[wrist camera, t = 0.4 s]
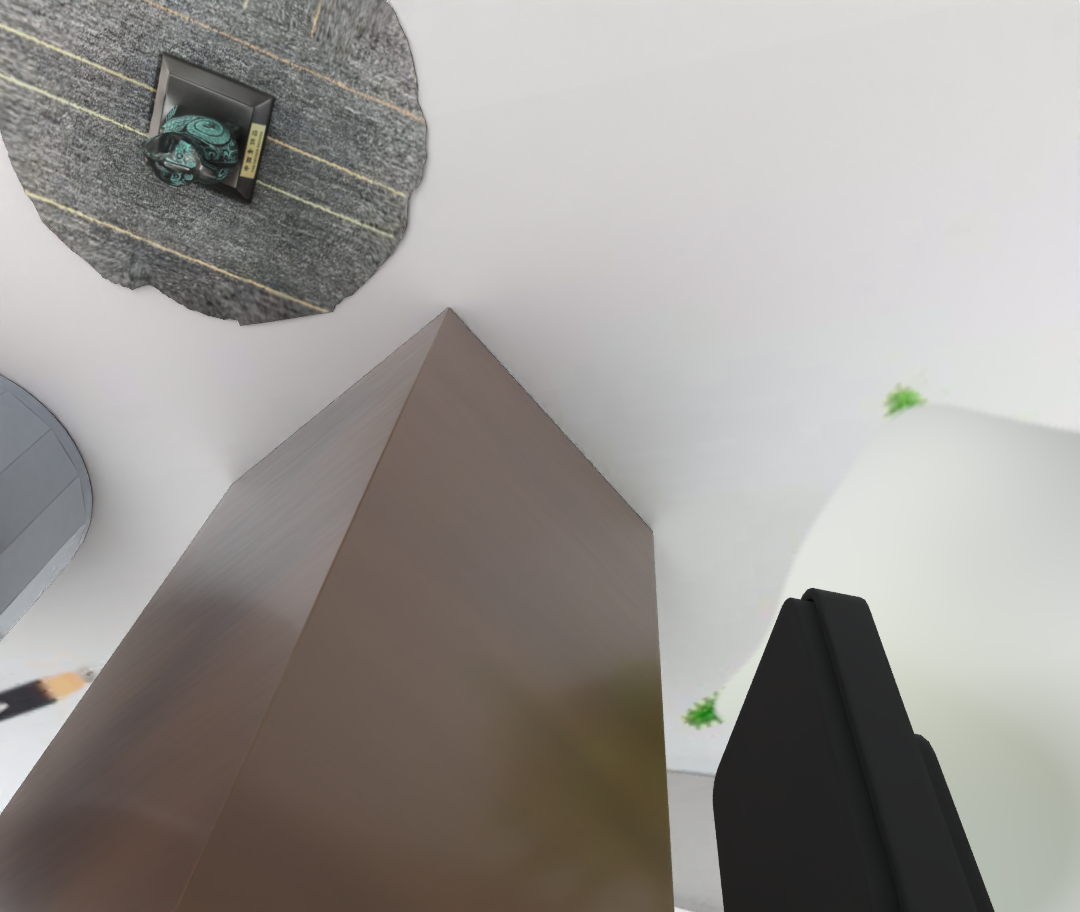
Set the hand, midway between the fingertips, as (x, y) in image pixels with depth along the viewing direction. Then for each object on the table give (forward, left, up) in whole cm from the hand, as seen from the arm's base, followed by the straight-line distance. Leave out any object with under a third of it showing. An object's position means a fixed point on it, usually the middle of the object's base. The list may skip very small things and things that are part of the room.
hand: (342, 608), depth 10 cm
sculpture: (+5, -7, -19) cm, 21 cm away
